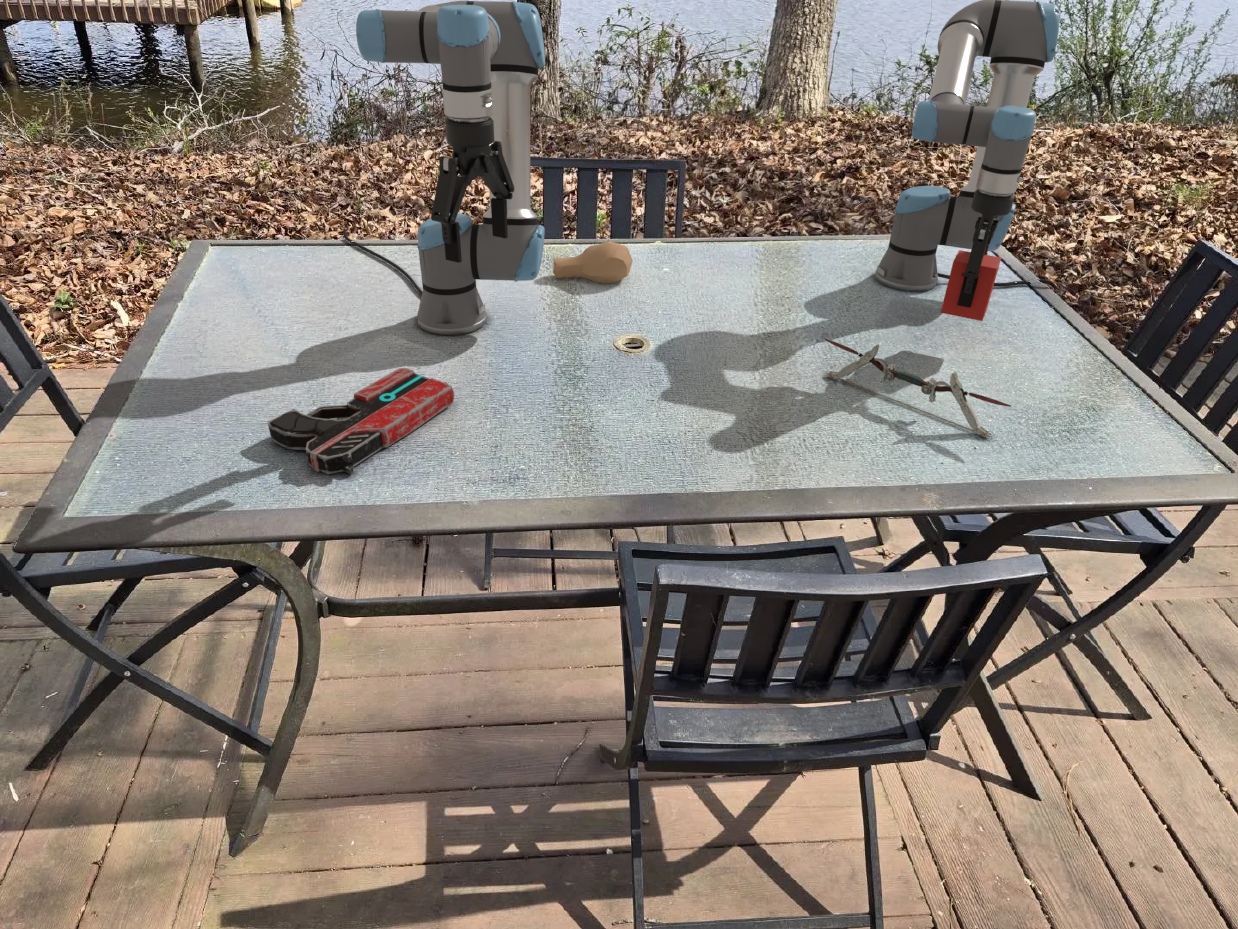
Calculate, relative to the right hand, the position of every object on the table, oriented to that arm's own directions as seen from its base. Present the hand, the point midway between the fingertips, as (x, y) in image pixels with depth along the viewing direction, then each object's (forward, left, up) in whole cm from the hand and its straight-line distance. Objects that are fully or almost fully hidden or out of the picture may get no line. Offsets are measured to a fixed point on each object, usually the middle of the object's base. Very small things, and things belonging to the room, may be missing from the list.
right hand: (967, 298), depth 186 cm
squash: (+72, -49, -11) cm, 88 cm away
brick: (0, 0, -3) cm, 3 cm away
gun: (+125, +14, -11) cm, 126 cm away
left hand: (+103, +10, +20) cm, 105 cm away
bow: (+23, +22, -11) cm, 34 cm away
